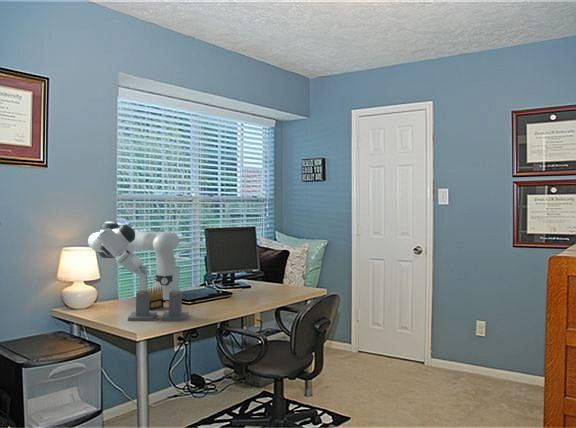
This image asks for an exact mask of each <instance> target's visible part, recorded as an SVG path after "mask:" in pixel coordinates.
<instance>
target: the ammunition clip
mask: <svg viewBox="0 0 576 428" xmlns="http://www.w3.org/2000/svg"><path fill="white" fill-rule="evenodd" d="M147 291H150V304H149V311H154V310H159V309H161V308H164V300H163V289H162V286H161V289H160V287H158V290H157V287H156V289H155V288H153V287H147ZM152 292H153V293H152Z"/></svg>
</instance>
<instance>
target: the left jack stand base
mask: <svg viewBox="0 0 576 428" xmlns="http://www.w3.org/2000/svg"><path fill="white" fill-rule="evenodd" d="M135 304H136V305H135V311H132V312H131V314H130V315H129V316H128V317H127V321H130V322H131V321H132V322H138V321H139V322H141V321H142V322H144V321H145V322H146V321H147V322H154V320H155V318H156V316H157V315H158V314H157V311H150V310H149V304H150V291H148V290H147V292H146V293H139V290H138V291H137V292H136V294H135Z"/></svg>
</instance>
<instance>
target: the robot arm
mask: <svg viewBox="0 0 576 428" xmlns="http://www.w3.org/2000/svg"><path fill="white" fill-rule="evenodd" d="M87 239H88V240H87V244H88V246H89V247H90V248H92V249H91V250H93V251H94V252H97V253H98V254H99V256H100V257H101V258H102V259H104V260H112V259H115V261H116V263H117V264H118V265H121V266H122V267H123V268H124V269H125V270H127V272H129V273H131V274H132V273H135V274H136V275H138V276H139V278H140V277H143V276H144V274H143V273H142V272H141V271H140V267H141V266H144V261H143V260H142V259H141V258H139V256H138V255H136V254H135V253H134V251H154V252H155V261H156V274H155V277H154V278H155V282H154V283H152V289H153V288H155V289H156V287H157V290H158V287H160V289H161V286H162V289H163V301H169V293H170V291H172V279H173V266H176V264H177V261H176V259H175V255H174V250H175V249H177V247H178V246H179V244H180V237H179V236H178V234H176V233H174V232H171V231H170V232H169V231H168V232H166V231H164V232H163V231H161V232H160V231H135V230H134V229H133V228H132V227H131V226H130V225H128V224H121V225H119V224H118V223H116V222H114V221H105V222H103V223H101V224H100V227H99V231H97V232H92V234H90V235H89V237H88V238H87ZM152 293H153V291H152Z"/></svg>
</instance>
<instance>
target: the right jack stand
mask: <svg viewBox="0 0 576 428" xmlns="http://www.w3.org/2000/svg"><path fill="white" fill-rule="evenodd" d="M182 294H183V291H181V290H180V266H178V265H177V266H173V279H172V291H170V293H169V300H168V311H164V312H163V314H162V316H161V319H160V320H161V321H162V322H164V321H165V322H169V321H170V322H182V321H181V320H186V321H187V319H188V317H189V312H188V311H182V297H183V295H182Z"/></svg>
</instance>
